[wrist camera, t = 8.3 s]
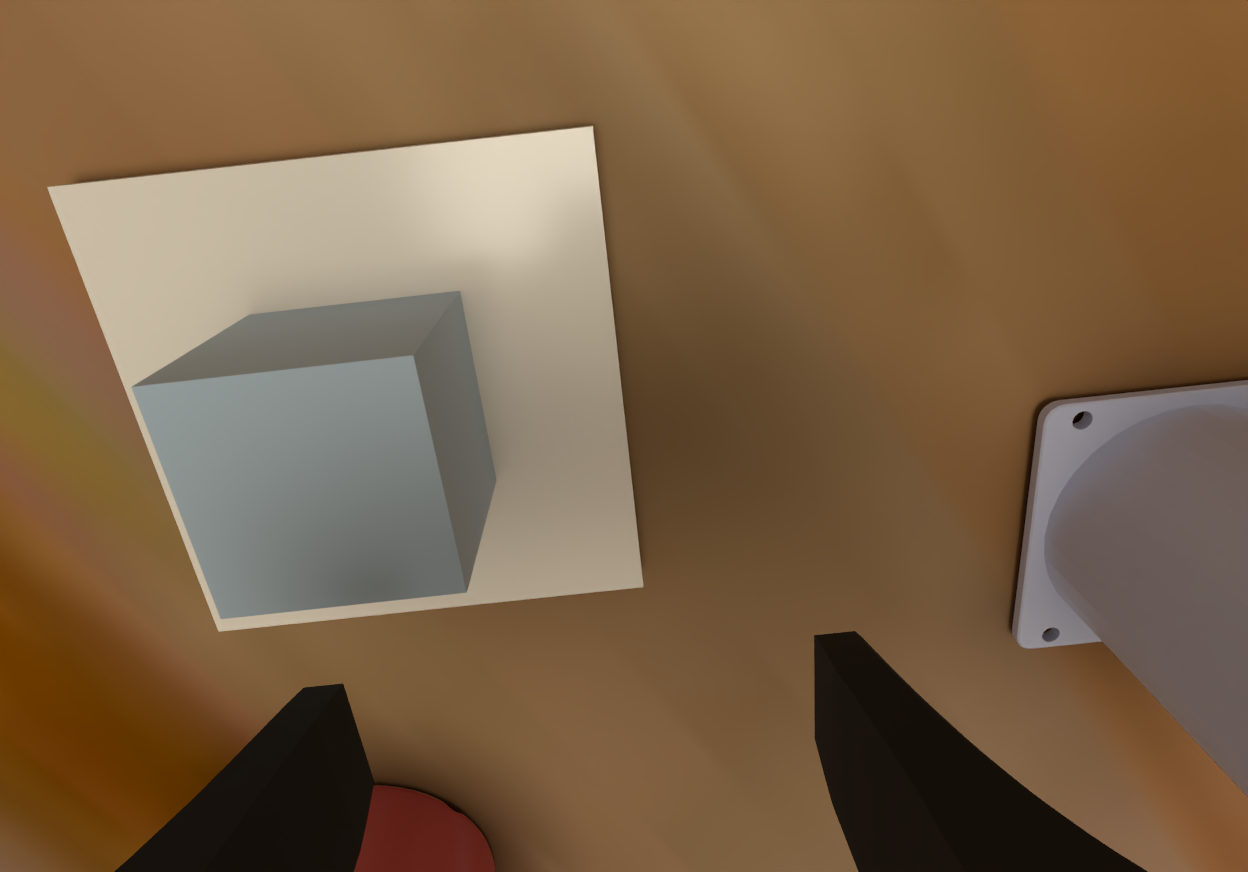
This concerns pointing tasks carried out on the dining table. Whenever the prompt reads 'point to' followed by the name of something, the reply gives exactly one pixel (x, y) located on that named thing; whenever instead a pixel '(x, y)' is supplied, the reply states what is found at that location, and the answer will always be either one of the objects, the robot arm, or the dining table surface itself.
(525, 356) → the cream tile
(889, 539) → the dining table surface
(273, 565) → the grey cube
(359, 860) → the flower pot
